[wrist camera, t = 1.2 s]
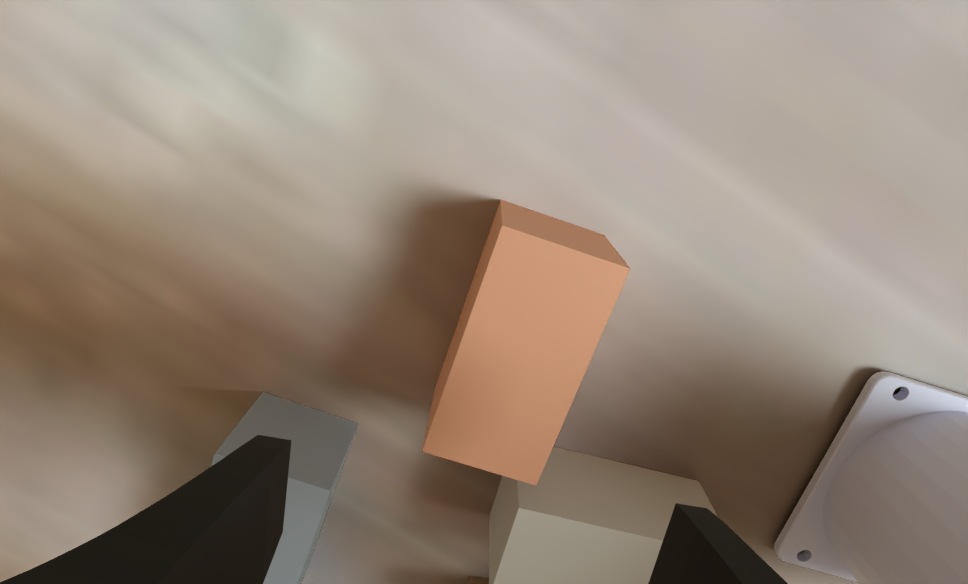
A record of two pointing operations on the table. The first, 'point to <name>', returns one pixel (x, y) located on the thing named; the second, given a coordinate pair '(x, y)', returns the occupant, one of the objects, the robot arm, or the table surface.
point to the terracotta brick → (523, 342)
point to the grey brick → (584, 522)
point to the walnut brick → (478, 580)
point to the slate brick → (297, 473)
